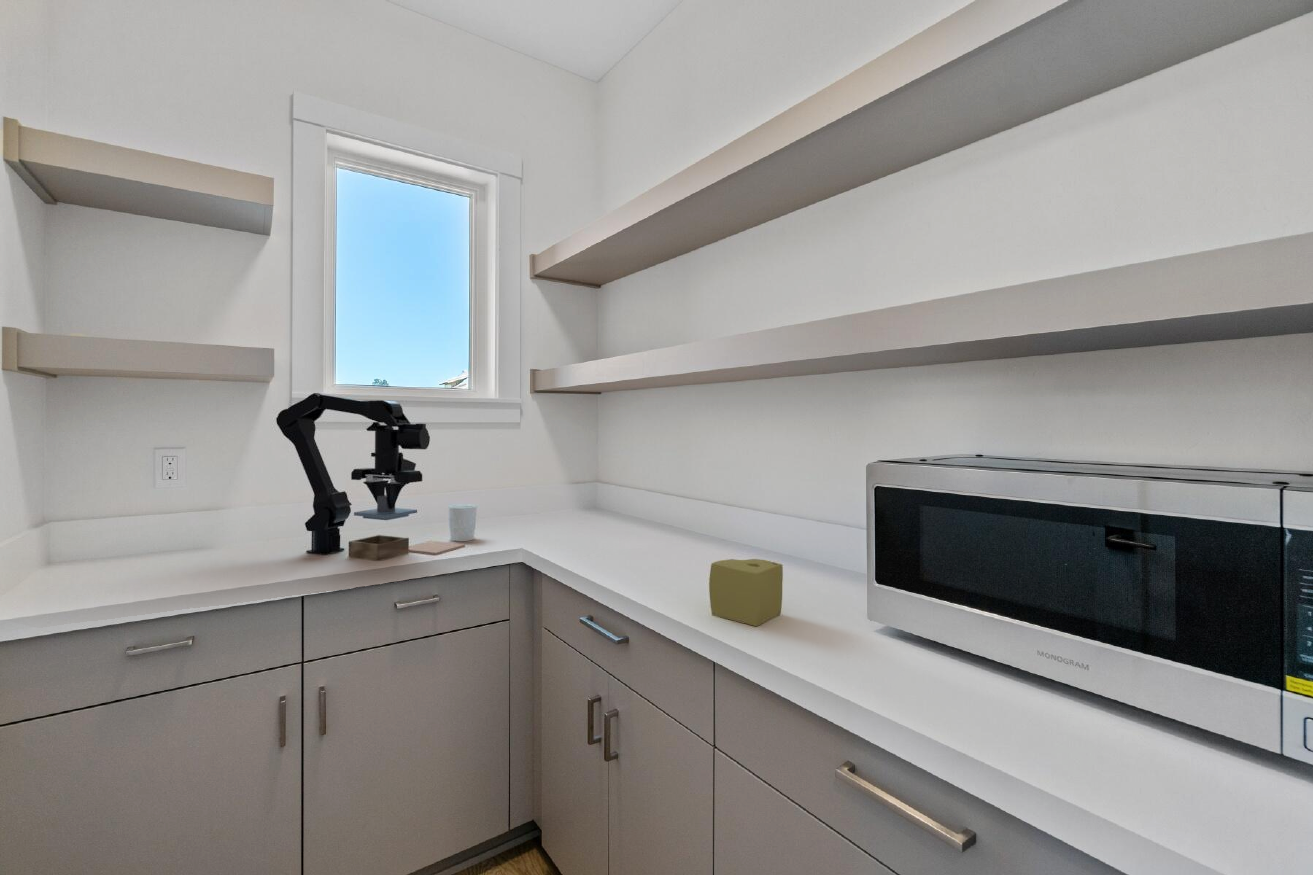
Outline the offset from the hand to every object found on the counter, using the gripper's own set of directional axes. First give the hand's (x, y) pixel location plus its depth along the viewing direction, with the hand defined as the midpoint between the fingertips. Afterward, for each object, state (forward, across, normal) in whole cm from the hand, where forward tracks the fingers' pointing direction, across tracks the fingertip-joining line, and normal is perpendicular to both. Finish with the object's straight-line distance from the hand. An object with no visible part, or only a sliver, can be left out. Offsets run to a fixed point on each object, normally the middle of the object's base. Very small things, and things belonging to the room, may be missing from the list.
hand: (386, 508), depth 152 cm
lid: (+2, 0, 0) cm, 2 cm away
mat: (+12, -6, -11) cm, 17 cm away
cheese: (+13, -97, +10) cm, 99 cm away
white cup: (+12, -5, -25) cm, 28 cm away
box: (+12, +1, +1) cm, 12 cm away
